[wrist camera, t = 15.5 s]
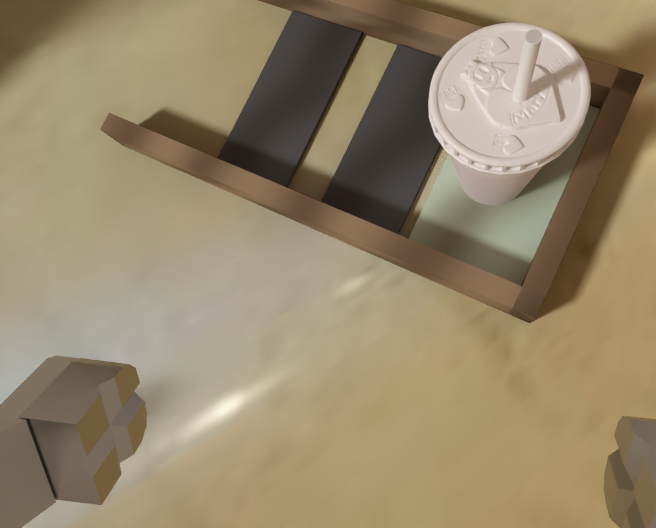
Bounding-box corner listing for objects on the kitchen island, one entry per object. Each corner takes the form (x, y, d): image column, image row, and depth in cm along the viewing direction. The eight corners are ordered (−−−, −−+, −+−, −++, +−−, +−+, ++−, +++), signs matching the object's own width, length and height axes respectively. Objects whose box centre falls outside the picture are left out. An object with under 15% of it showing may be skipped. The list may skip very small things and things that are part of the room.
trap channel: (122, 145, 38) (100, 129, 36) (215, -31, 40) (199, -58, 37) (529, 323, 31) (535, 318, 28) (629, 97, 32) (644, 74, 30)
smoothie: (508, 251, 31) (546, 155, 18) (412, 188, 33) (383, 59, 20) (577, 157, 32) (666, -6, 18) (478, 101, 33) (493, -86, 20)
